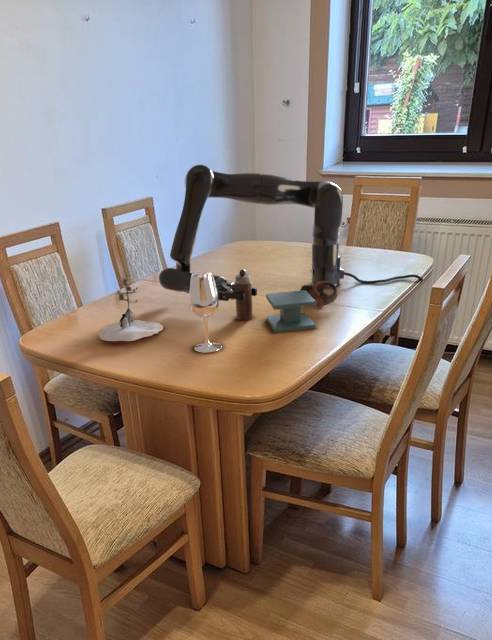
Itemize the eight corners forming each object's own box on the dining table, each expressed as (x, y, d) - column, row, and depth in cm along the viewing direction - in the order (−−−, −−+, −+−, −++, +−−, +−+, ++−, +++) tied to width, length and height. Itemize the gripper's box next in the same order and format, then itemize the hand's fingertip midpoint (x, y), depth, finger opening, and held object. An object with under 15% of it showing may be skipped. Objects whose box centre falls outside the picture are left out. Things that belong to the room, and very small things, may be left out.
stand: (305, 315, 178) (305, 289, 174) (315, 328, 167) (315, 301, 163) (266, 320, 177) (265, 293, 173) (274, 333, 166) (274, 305, 162)
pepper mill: (251, 314, 182) (249, 266, 174) (254, 319, 178) (252, 270, 170) (235, 316, 182) (232, 268, 174) (237, 321, 177) (235, 272, 170)
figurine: (143, 345, 161) (136, 285, 154) (87, 342, 167) (78, 284, 160) (173, 328, 178) (169, 274, 171) (121, 326, 184) (115, 273, 177)
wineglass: (193, 344, 163) (186, 272, 153) (221, 341, 163) (215, 269, 153) (194, 354, 156) (187, 279, 146) (223, 351, 156) (218, 277, 146)
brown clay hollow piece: (335, 300, 191) (341, 281, 184) (330, 320, 186) (336, 302, 179) (300, 291, 191) (305, 272, 184) (294, 311, 187) (299, 293, 180)
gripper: (192, 280, 178) (233, 288, 168) (224, 269, 187) (265, 276, 177) (194, 304, 182) (235, 313, 172) (225, 292, 191) (265, 300, 180)
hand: (250, 294), depth 174 cm, fingers closed on pepper mill, 5 cm apart
